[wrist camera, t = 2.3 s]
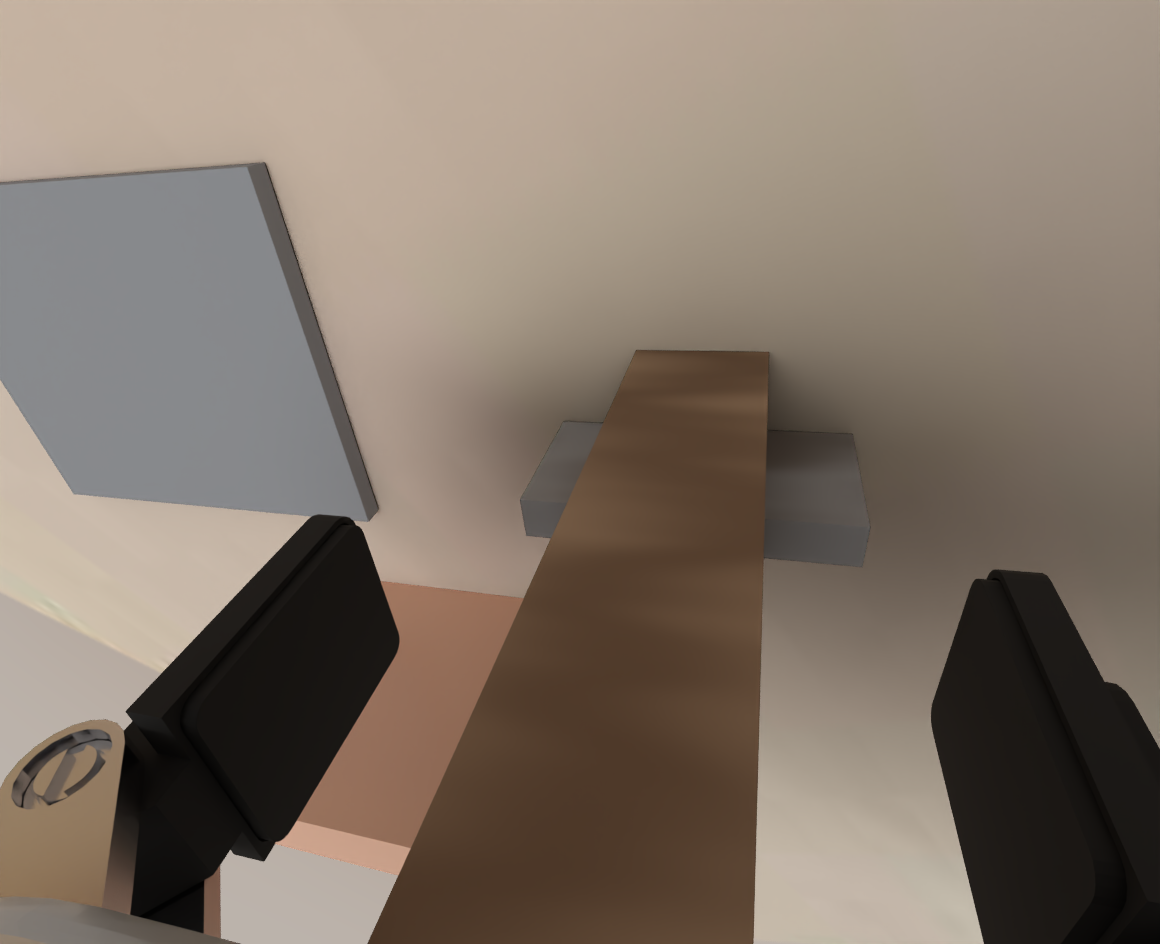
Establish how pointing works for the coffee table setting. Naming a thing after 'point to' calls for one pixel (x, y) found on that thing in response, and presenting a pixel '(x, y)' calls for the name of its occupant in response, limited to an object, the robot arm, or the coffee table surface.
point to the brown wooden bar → (632, 674)
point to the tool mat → (172, 343)
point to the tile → (406, 727)
